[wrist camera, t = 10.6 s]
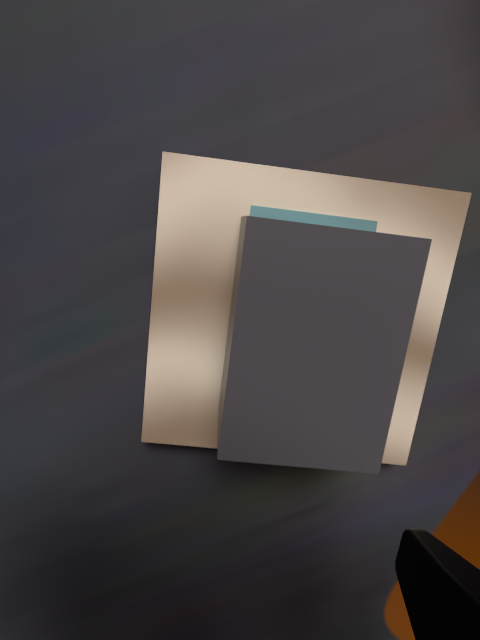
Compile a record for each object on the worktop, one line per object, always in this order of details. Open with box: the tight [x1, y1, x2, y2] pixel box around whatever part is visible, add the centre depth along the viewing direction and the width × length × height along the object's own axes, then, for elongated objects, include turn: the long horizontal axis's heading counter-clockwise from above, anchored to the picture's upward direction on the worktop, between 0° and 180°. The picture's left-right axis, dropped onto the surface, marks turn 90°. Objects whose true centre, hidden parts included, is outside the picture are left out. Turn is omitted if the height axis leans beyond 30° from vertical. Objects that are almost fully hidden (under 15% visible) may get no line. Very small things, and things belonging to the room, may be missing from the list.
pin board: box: [141, 152, 471, 465], centre depth 17 cm, size 12×12×4 cm
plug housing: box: [217, 216, 432, 474], centre depth 15 cm, size 8×6×4 cm
